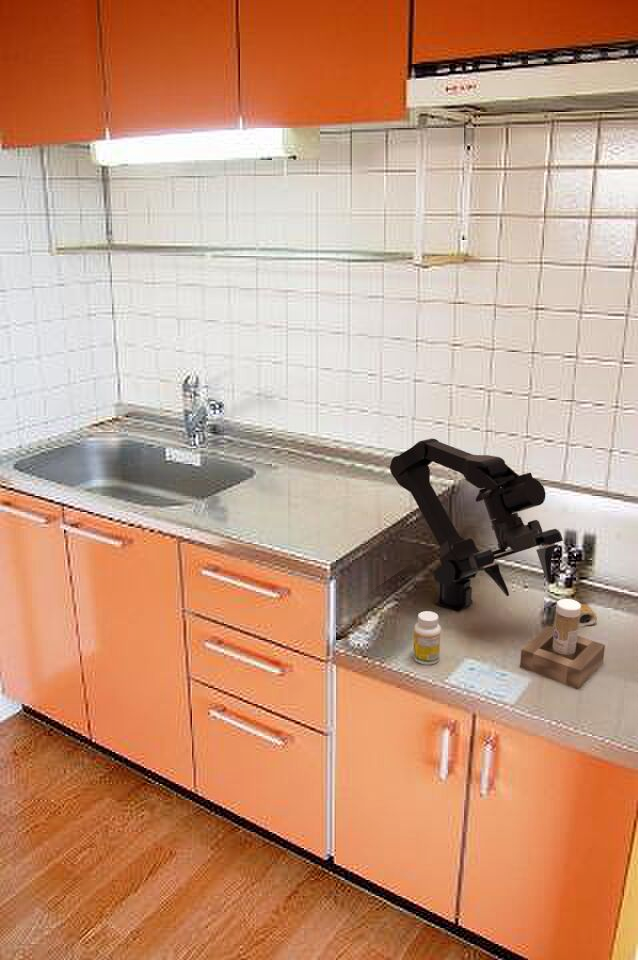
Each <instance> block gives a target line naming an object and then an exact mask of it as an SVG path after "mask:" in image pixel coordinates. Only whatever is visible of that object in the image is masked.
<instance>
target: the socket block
mask: <svg viewBox="0 0 638 960" xmlns="http://www.w3.org/2000/svg"><path fill="white" fill-rule="evenodd" d="M554 630H555V627H553V626H549V625H547V626H546V627H545V628H544V629H542V630H541V632H539V633H538V634H537V635H536V636H534V638H532V639H531V640H530V641H529V642H528V643H527V644H526V645H525V646H523V647H522V648H521V649H520V650H521V651H520V661H519V662H520V663H519V668H521V669H524V670H527V671H529V672H531V673H533V674H534V673H535V674H537V675H540V676H542V677H545V678H548V679H550V680H552V681H553V680H554V681H556V682H559V683H562V684H565V685H566V686H569V687H571V688H574V689H577V690H579V689H580V688H581V687H582V686H583V685H584V684H585V683H586V682H587V681H588V679H590V678H591V676H592V675H593V674H594V673H595V672H596V671H597V670H598V668H599V667H600V666H602V664H603V663H604V657H605V649H606V645H605V644H603V643H601V642H598V641H594V640H590V639H589V638H586V637H583V636H579V635H577V642H576V650H575V655H574V660H570V659H567V658H565V657H562V656H559V655H556V654H553V653H552V650H553V639H554Z"/></svg>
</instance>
